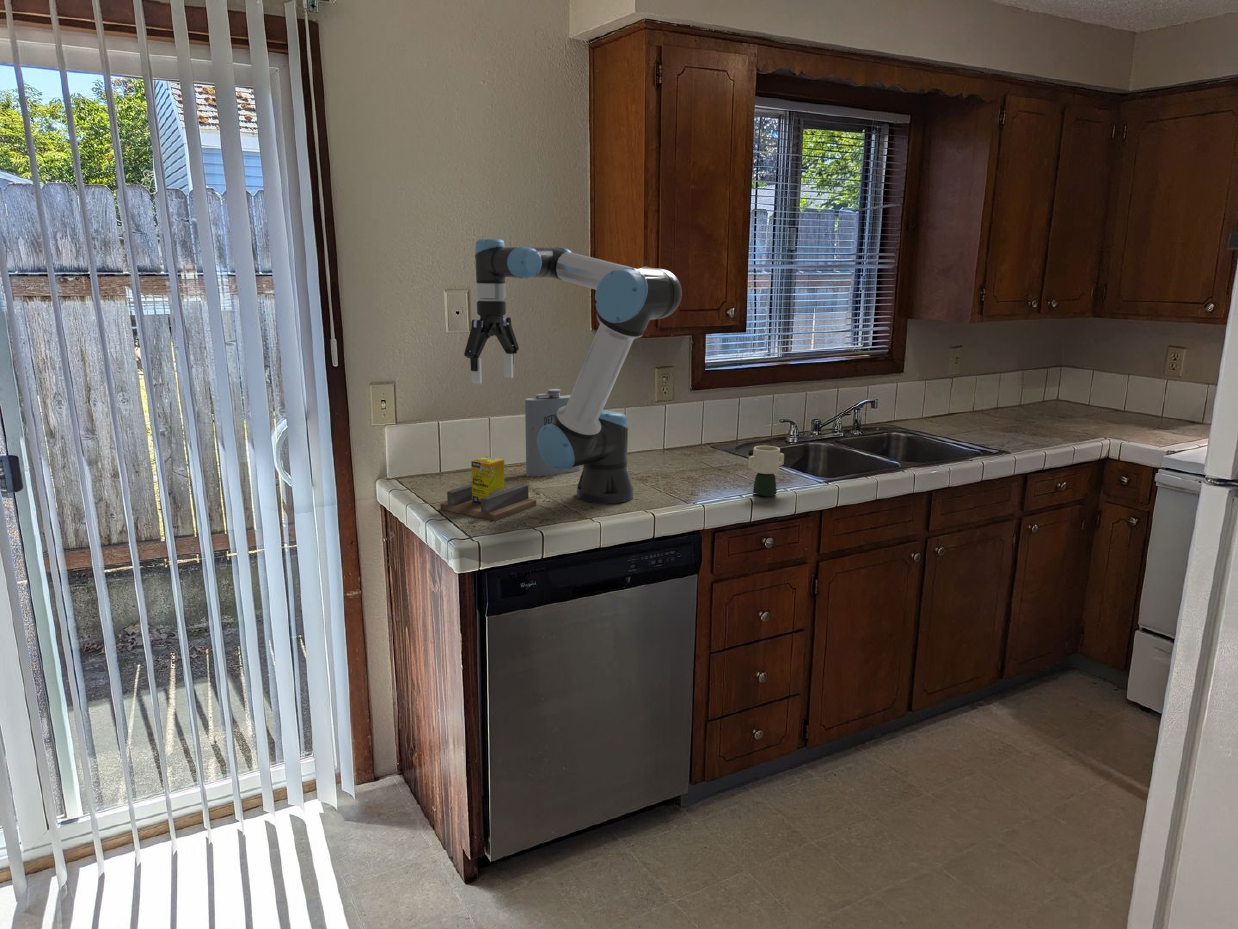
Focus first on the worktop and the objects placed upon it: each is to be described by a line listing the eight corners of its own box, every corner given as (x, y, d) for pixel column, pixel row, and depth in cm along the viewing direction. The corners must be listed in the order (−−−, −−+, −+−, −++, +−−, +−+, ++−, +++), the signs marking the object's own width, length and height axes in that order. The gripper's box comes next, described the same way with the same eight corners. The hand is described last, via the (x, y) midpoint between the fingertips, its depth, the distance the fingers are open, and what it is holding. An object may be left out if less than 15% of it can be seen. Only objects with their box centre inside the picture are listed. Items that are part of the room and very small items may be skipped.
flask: (531, 477, 249) (529, 392, 243) (524, 474, 253) (523, 389, 247) (584, 470, 257) (584, 387, 252) (576, 467, 261) (576, 385, 255)
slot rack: (536, 505, 221) (535, 486, 220) (495, 520, 207) (495, 500, 206) (482, 495, 230) (482, 477, 229) (440, 509, 217) (439, 490, 216)
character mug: (774, 490, 237) (777, 444, 234) (789, 496, 231) (791, 449, 228) (740, 494, 233) (742, 447, 230) (753, 500, 227) (756, 452, 224)
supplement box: (471, 502, 218) (470, 460, 215) (487, 497, 222) (486, 456, 220) (489, 506, 214) (488, 463, 212) (505, 500, 219) (504, 459, 217)
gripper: (508, 297, 238) (510, 374, 243) (448, 301, 217) (451, 384, 222) (530, 298, 234) (531, 376, 239) (471, 302, 213) (474, 387, 218)
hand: (493, 380), depth 231 cm, fingers open, 13 cm apart
